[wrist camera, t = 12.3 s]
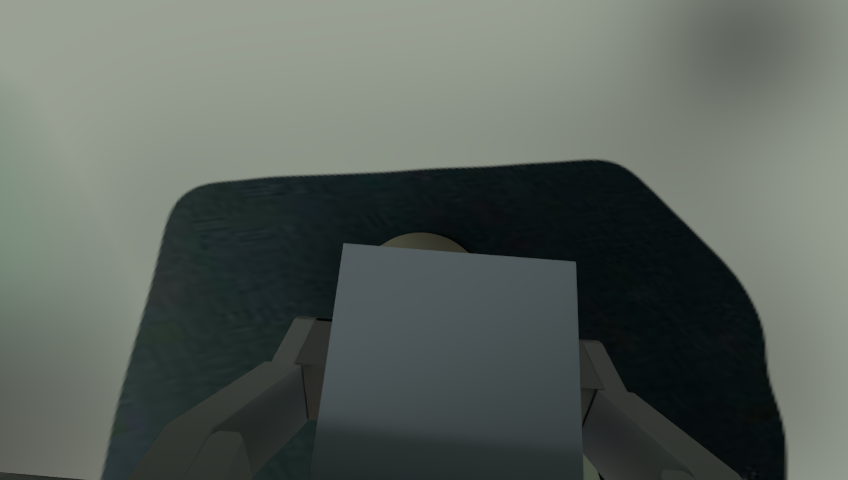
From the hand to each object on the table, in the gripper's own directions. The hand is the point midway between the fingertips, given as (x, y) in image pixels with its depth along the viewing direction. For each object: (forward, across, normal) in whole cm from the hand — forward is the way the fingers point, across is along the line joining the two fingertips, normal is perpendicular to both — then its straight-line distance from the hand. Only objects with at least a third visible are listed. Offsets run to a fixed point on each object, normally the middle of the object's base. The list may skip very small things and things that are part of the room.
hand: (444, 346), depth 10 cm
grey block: (+2, 0, +3) cm, 4 cm away
